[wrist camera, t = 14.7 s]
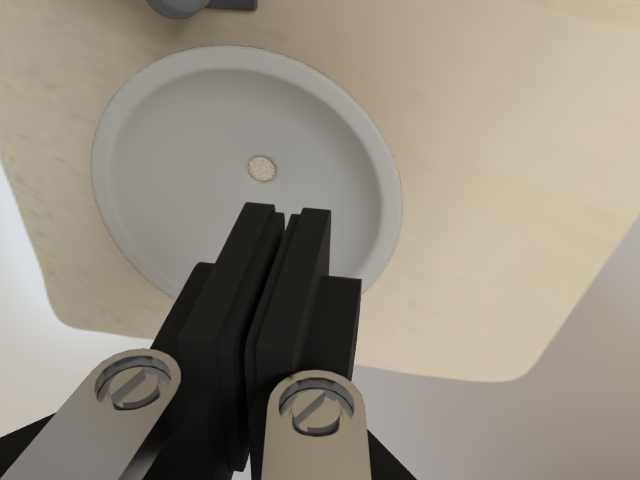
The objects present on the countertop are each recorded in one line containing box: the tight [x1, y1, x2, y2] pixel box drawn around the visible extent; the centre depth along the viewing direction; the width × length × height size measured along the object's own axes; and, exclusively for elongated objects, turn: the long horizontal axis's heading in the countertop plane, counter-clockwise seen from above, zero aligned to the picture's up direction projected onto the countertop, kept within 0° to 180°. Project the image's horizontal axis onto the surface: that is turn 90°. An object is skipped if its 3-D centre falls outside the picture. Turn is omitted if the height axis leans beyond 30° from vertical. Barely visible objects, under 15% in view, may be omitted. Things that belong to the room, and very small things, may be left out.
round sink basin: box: [91, 45, 403, 300], centre depth 48 cm, size 24×24×7 cm
